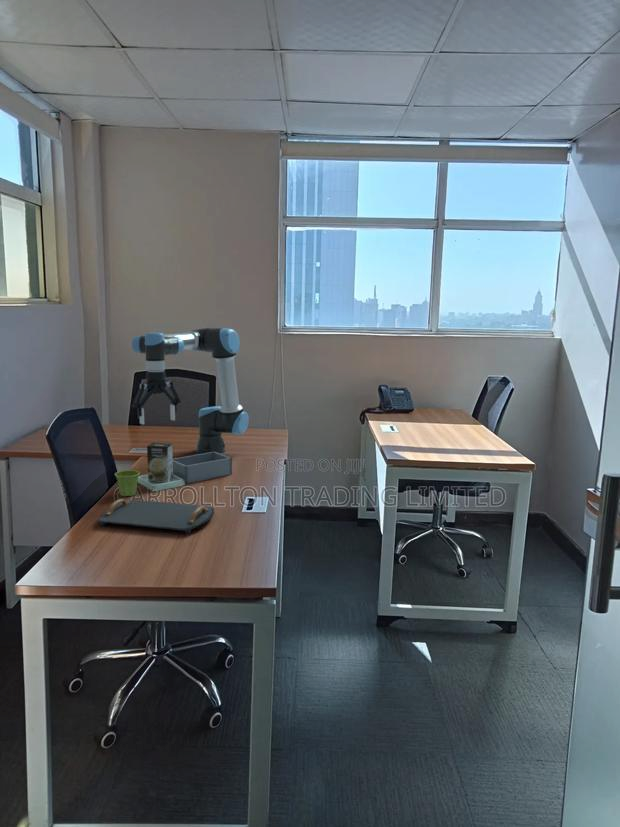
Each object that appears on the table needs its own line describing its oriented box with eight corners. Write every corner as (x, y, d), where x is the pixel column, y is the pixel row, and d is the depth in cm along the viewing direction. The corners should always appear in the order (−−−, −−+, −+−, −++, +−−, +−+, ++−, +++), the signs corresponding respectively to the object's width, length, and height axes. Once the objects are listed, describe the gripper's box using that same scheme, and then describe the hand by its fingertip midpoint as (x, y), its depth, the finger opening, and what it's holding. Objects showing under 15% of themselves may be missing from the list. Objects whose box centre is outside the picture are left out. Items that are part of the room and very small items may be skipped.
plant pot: (127, 489, 233) (126, 468, 231) (145, 492, 228) (144, 471, 227) (110, 495, 224) (109, 474, 223) (128, 499, 220) (127, 477, 219)
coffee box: (147, 483, 238) (145, 445, 235) (153, 478, 244) (151, 442, 241) (168, 484, 237) (167, 446, 234) (174, 479, 243) (172, 443, 240)
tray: (166, 476, 251) (166, 470, 251) (184, 485, 238) (184, 479, 238) (136, 482, 242) (135, 476, 242) (153, 491, 229) (153, 486, 229)
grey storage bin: (214, 467, 267) (214, 451, 265) (232, 474, 255) (231, 457, 254) (169, 475, 252) (169, 459, 251) (185, 483, 241) (185, 466, 239)
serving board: (221, 514, 206) (221, 498, 205) (195, 539, 184) (195, 520, 183) (125, 505, 214) (124, 490, 213) (89, 528, 192) (88, 510, 191)
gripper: (179, 368, 242) (180, 417, 246) (122, 372, 227) (125, 424, 230) (187, 369, 237) (189, 419, 241) (129, 373, 221) (132, 427, 225)
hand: (157, 422), depth 236 cm, fingers open, 13 cm apart
